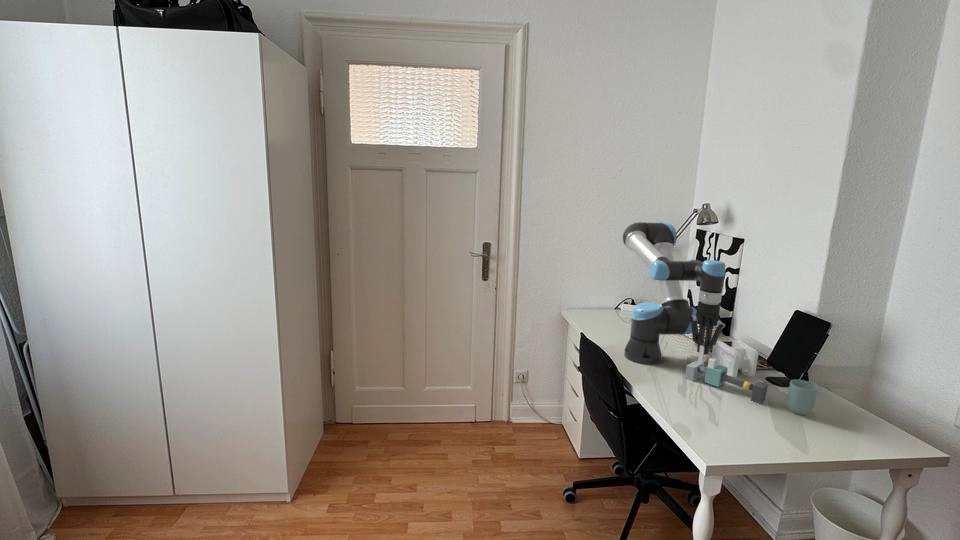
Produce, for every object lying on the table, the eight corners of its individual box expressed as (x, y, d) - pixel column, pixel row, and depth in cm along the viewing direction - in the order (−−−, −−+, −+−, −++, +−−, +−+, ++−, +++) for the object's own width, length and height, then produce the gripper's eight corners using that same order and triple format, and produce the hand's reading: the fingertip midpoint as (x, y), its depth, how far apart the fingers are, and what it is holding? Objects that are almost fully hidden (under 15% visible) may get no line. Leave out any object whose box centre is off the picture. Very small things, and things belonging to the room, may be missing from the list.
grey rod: (694, 371, 176) (695, 365, 176) (697, 370, 178) (698, 363, 177) (753, 392, 160) (754, 386, 160) (756, 390, 162) (757, 383, 161)
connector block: (750, 400, 160) (753, 385, 159) (756, 396, 163) (758, 381, 162) (759, 404, 158) (762, 388, 157) (765, 400, 161) (768, 384, 160)
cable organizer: (756, 380, 176) (761, 352, 174) (730, 380, 175) (734, 352, 173) (732, 364, 191) (736, 338, 188) (708, 364, 190) (712, 338, 188)
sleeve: (704, 381, 172) (707, 359, 170) (712, 377, 175) (715, 355, 173) (718, 386, 168) (721, 364, 166) (725, 382, 172) (728, 360, 170)
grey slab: (685, 378, 177) (686, 365, 175) (695, 372, 182) (696, 360, 180) (692, 381, 174) (694, 368, 173) (702, 375, 179) (704, 362, 178)
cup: (813, 420, 148) (819, 392, 146) (785, 413, 152) (790, 385, 150) (812, 410, 155) (817, 383, 152) (784, 403, 159) (789, 377, 156)
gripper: (687, 299, 172) (680, 358, 177) (722, 307, 162) (714, 369, 167) (697, 296, 177) (689, 353, 182) (732, 304, 167) (723, 364, 172)
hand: (701, 361), depth 175 cm, fingers closed
